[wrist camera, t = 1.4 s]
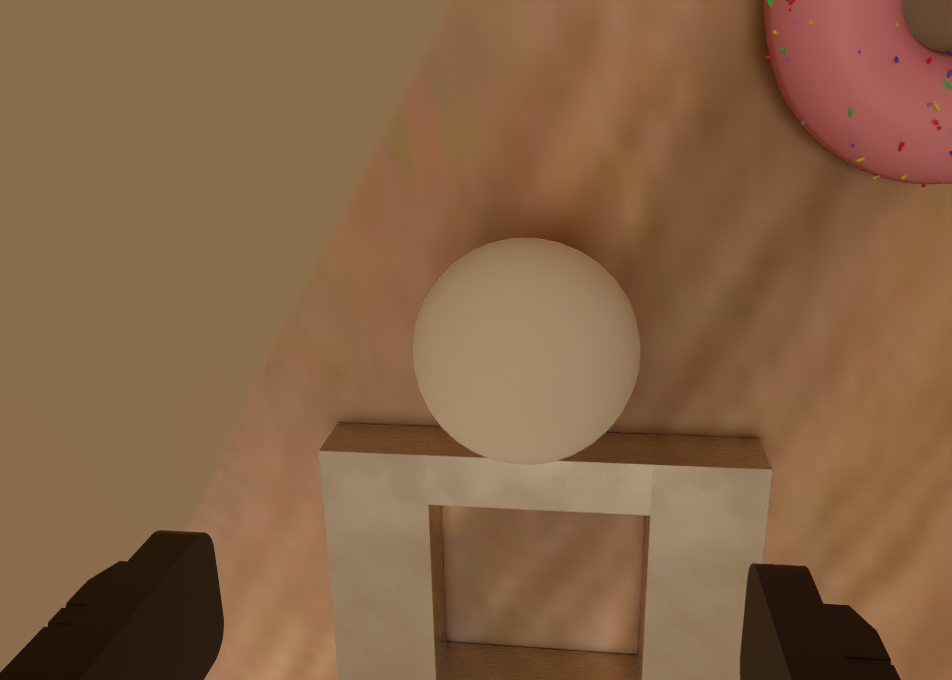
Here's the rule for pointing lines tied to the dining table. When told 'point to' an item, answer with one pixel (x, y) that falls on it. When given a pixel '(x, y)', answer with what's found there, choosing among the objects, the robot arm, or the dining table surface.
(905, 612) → the dining table surface
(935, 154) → the doughnut
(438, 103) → the dining table surface
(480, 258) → the lightbulb
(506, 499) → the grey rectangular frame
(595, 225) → the dining table surface
